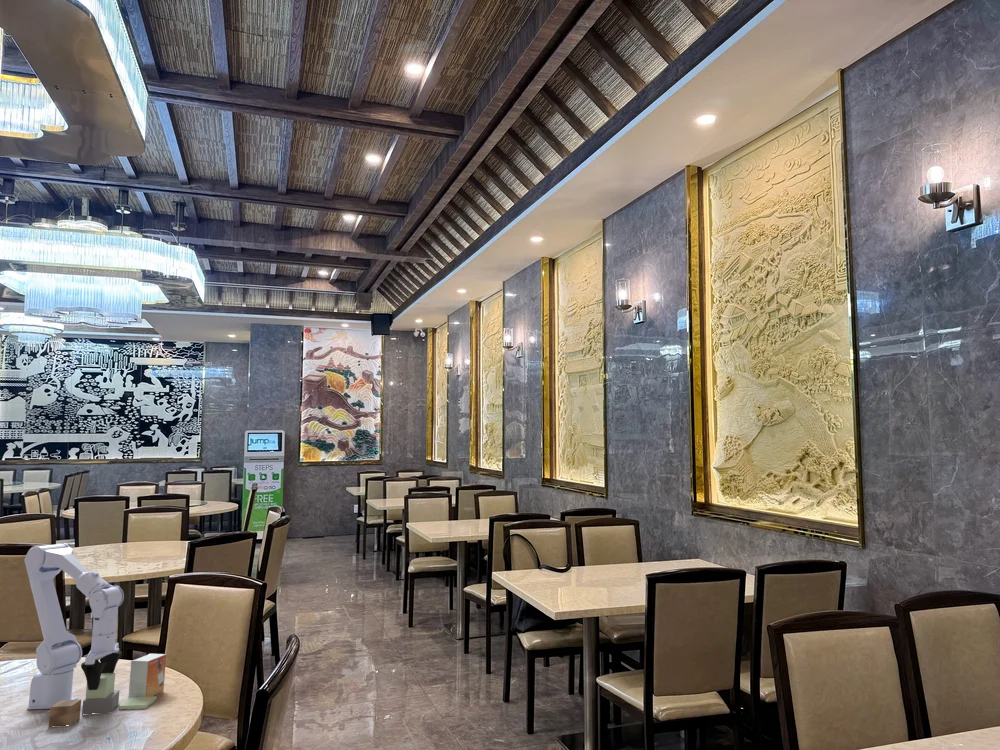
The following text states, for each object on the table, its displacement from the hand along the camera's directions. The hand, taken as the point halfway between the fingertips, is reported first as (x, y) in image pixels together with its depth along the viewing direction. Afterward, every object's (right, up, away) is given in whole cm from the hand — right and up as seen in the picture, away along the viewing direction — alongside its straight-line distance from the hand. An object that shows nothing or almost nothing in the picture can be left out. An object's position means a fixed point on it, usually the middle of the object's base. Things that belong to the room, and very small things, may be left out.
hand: (100, 685), depth 180 cm
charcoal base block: (0, -7, 0) cm, 7 cm away
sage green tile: (+9, -7, +3) cm, 11 cm away
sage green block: (0, -3, 0) cm, 3 cm away
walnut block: (-3, -5, -10) cm, 12 cm away
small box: (+7, -8, +11) cm, 15 cm away
